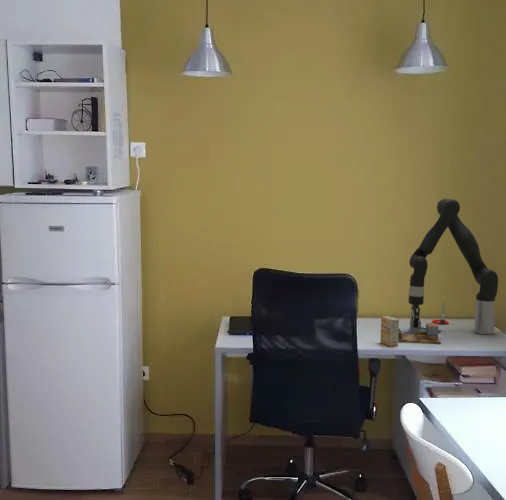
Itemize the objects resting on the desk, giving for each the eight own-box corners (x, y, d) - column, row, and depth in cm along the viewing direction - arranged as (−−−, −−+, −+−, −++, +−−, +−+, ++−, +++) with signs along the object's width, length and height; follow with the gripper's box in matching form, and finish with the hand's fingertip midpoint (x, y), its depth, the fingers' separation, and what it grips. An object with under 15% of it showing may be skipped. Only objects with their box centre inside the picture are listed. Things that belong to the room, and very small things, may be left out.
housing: (419, 332, 338) (419, 318, 337) (420, 334, 334) (421, 319, 333) (409, 332, 339) (410, 317, 338) (410, 334, 334) (411, 319, 333)
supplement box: (379, 342, 317) (380, 316, 316) (388, 341, 319) (389, 315, 318) (389, 347, 310) (390, 319, 308) (398, 346, 312) (399, 319, 310)
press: (436, 337, 328) (437, 329, 328) (440, 344, 316) (441, 335, 316) (396, 336, 331) (396, 327, 330) (398, 342, 319) (398, 333, 318)
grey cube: (435, 336, 325) (436, 323, 324) (437, 339, 319) (438, 326, 318) (425, 335, 326) (426, 323, 325) (427, 338, 320) (427, 325, 319)
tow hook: (430, 321, 366) (435, 324, 357) (431, 298, 365) (436, 301, 356) (444, 321, 367) (450, 324, 357) (445, 298, 366) (451, 301, 356)
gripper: (425, 297, 326) (423, 329, 328) (422, 292, 340) (420, 323, 342) (410, 296, 327) (408, 328, 329) (407, 291, 341) (405, 322, 343)
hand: (414, 325), depth 336 cm, fingers open, 8 cm apart
